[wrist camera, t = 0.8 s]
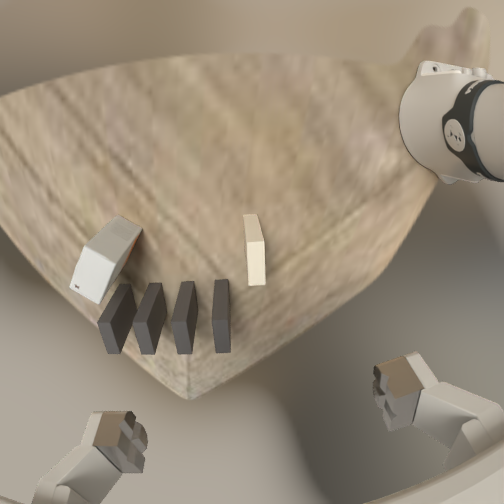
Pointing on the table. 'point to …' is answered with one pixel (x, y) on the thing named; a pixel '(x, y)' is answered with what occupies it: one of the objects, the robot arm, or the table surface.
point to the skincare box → (104, 258)
